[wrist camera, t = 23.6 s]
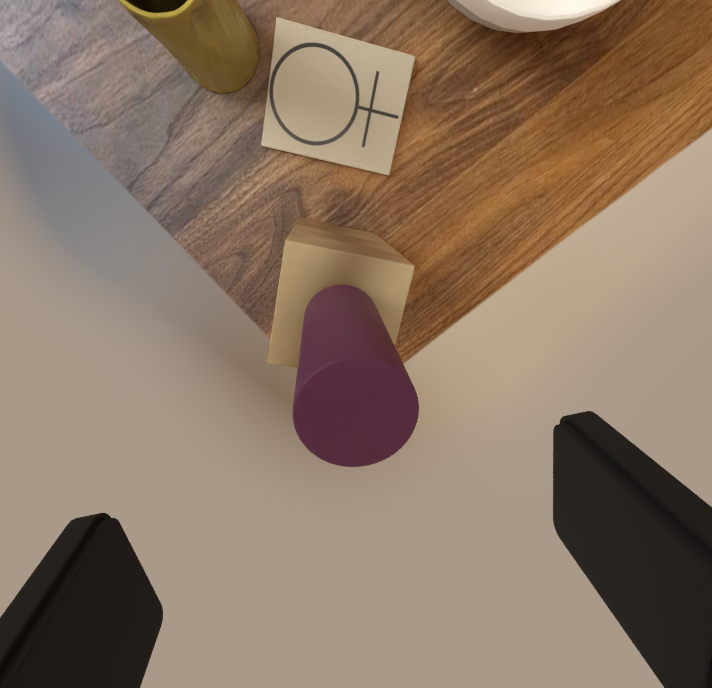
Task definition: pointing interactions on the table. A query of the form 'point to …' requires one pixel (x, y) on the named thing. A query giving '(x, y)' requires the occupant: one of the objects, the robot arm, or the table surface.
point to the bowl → (529, 13)
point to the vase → (203, 38)
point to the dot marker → (351, 382)
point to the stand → (334, 279)
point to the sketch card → (335, 97)
